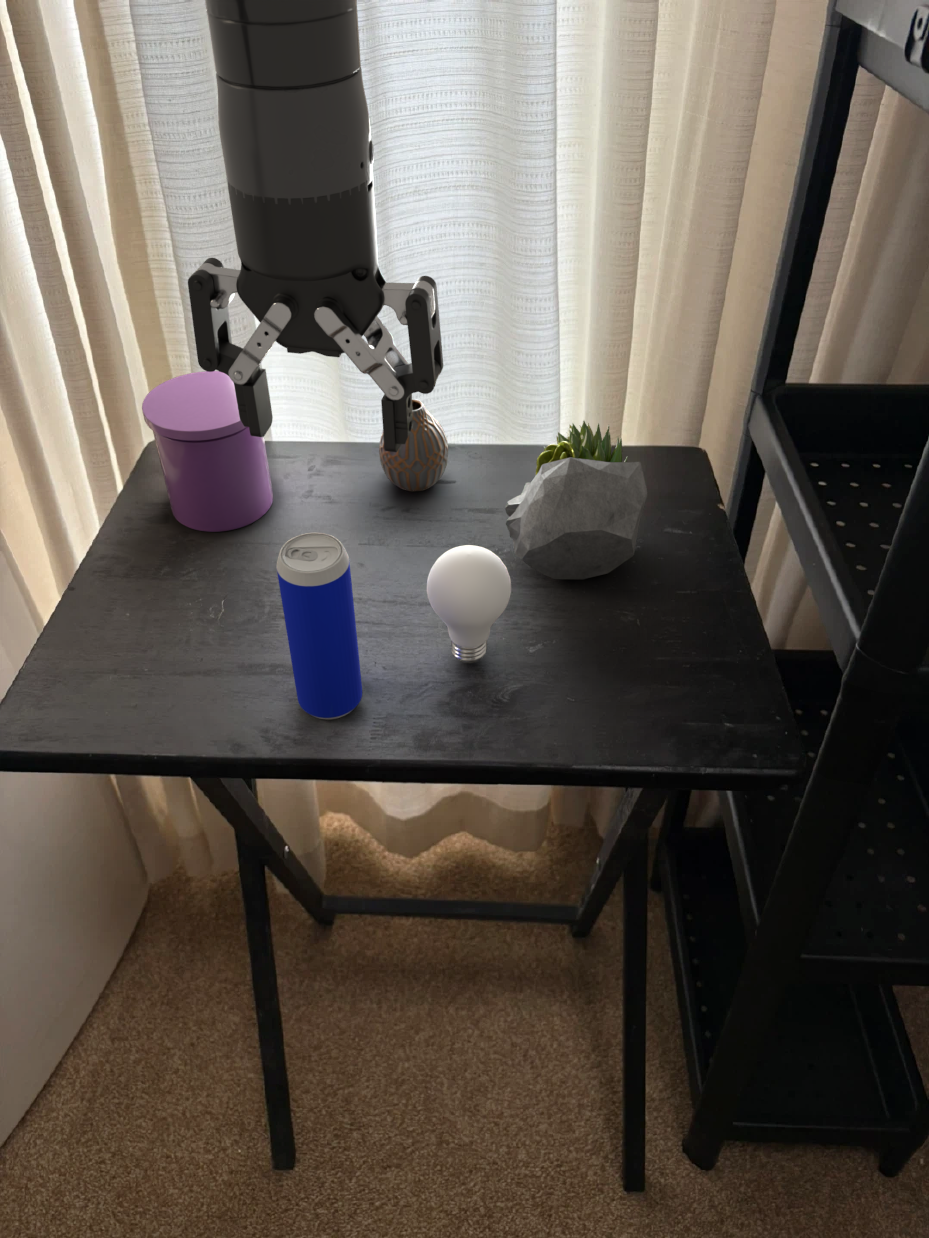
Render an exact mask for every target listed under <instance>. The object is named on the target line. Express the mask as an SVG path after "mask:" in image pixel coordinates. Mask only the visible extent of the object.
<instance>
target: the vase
mask: <svg viewBox="0 0 929 1238" xmlns="http://www.w3.org/2000/svg"><path fill="white" fill-rule="evenodd" d="M412 408H413V411H412V412H413V427H412V430H411V432H410V434H409V436H408V438H407V441H406V443H405V444H401V445H400V447H399V449H398V451H397V452H389V451H385V449H384V435H383V430H382V431H381V435H380V439H379V444H378V454H379V462H380V465H381V469H382V470H383V472H384V474H385V476H386V477H387V479H388V480H389V481H390V483H392V484H393V485H395V486H396V487H398V488H399V489H402V490H404V491H408V492H421V491H426V490H427V489H430V488H431V487H433V486H434V485H435V484H436V483H438V481H440V479H441V478H442V477H443V475H444V473H445V471H446V468H447V465H448V461H449V443H448V439H447V436H446V432H445V430H444V428H443V427H442V424H441V423H440V422H439V421H438V419H437V418H436V417H435V416H433V414H431V412H429V410H428V409H427V408H426V405H425V404H424V402H423V401H421V400H420V399H415V398H414V399H413V398H412Z"/></svg>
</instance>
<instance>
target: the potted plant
mask: <svg viewBox="0 0 929 1238" xmlns="http://www.w3.org/2000/svg"><path fill="white" fill-rule="evenodd" d="M600 427H601V426H600V423H599V422H598V423H597V426H596V430H595V433H594V432H593V429H592V427H591V426H590V423H589V422H587V423H586V421H585V420H583V421H582V424H579V428H580V430H579V429H578V428H577V426H576V425H575V424H574V423H571V424H569V427H568V428H567V431H566V436H565V434H561V433H560V432H559V431H557V436H556V443H551V444H548V445H546V446H543V451H542V452H541V453H540V454H539V455H538V456H537V459H536V463H535V464H536V468H535V476H534V478H533V479H532V481H531V482H528V481H527V482H525V485H524V487H523V489H522V492H521V493H520V494H519V495H517V496H514V497H513V498H511V499H509V500H507V501H506V504H505V507H504V510H505V513H506V515H507V516H508V519H507V520H506V521H505V526H506V528H507V530H508V532H509V537H510V538H511V539H512V543H513V544H512V545H513V551H514V555H515V556H516V557H517V558H519V559H520V560H521V561H522V562H524V563H525V564H527V566H529V567H531V568H532V569H533V570H535V571H536V572H538V573H540V574H542V575H544V576H546V577H548V578H550V579H552V580H587V579H590V578H594V577H599V576H602V575H606V574H607V575H608V574H609V573H611V572H612V571H614V570H615V569H616V568H618V567H619V566H621V565H622V564H624V563H625V562H626V561H628V560H630V559H632V558H633V557H634V556H635V551H636V545H637V540H638V539H637V538H638V534H639V528H640V522H641V519H642V516H643V513H644V511H645V507H646V502H647V498H648V494H649V493H648V490H647V485H646V480H645V475H644V472H643V467H642V463H641V461H628V456H626V457H625V460H624V461H623V440H622V437H620V438H619V437H617V438H616V444H615V445H616V446H615V448H614V449H613V450H612V440H611V432H610V425H607V430H606V431H605V434H604V436H603V438H602V432H601V428H600Z"/></svg>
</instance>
